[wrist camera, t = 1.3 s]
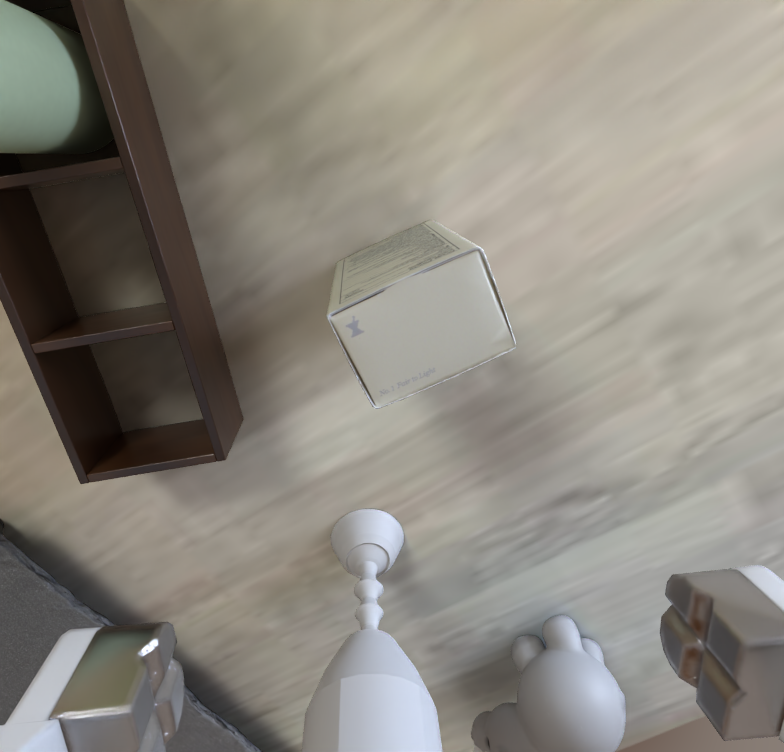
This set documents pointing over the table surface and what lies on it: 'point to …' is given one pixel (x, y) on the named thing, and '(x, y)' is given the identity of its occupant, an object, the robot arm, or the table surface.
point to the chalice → (370, 660)
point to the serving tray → (54, 618)
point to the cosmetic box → (417, 312)
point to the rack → (74, 334)
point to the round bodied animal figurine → (556, 698)
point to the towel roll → (47, 88)
